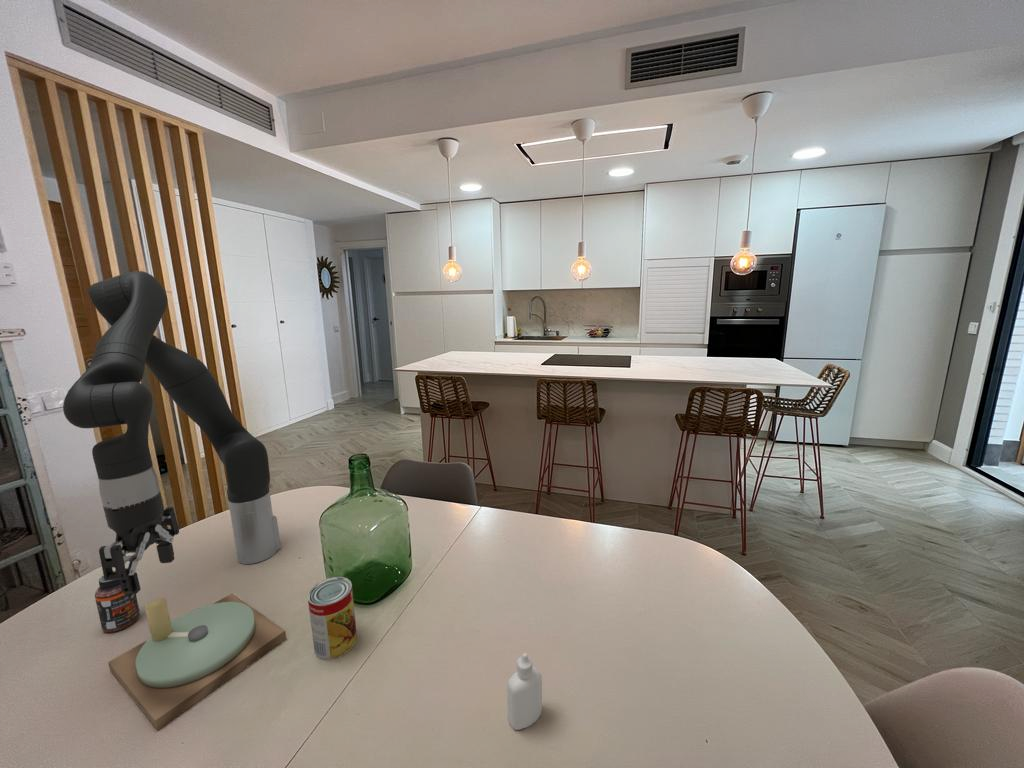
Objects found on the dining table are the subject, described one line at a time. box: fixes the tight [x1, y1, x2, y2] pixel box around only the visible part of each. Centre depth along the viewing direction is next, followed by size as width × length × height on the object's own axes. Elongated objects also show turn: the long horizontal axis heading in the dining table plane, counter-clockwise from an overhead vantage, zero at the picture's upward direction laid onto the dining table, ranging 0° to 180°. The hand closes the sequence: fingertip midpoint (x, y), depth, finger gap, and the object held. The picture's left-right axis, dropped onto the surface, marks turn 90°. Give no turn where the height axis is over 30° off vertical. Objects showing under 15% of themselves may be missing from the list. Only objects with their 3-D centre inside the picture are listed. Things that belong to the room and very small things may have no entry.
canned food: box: [306, 576, 358, 661], centre depth 81 cm, size 8×8×12 cm
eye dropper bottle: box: [506, 652, 543, 731], centre depth 66 cm, size 4×6×12 cm
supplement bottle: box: [94, 570, 141, 633], centre depth 87 cm, size 6×6×11 cm
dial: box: [136, 597, 255, 688], centre depth 78 cm, size 18×18×9 cm
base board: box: [107, 593, 287, 732], centre depth 79 cm, size 21×21×2 cm
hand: (151, 576), depth 76 cm, fingers open, 8 cm apart
